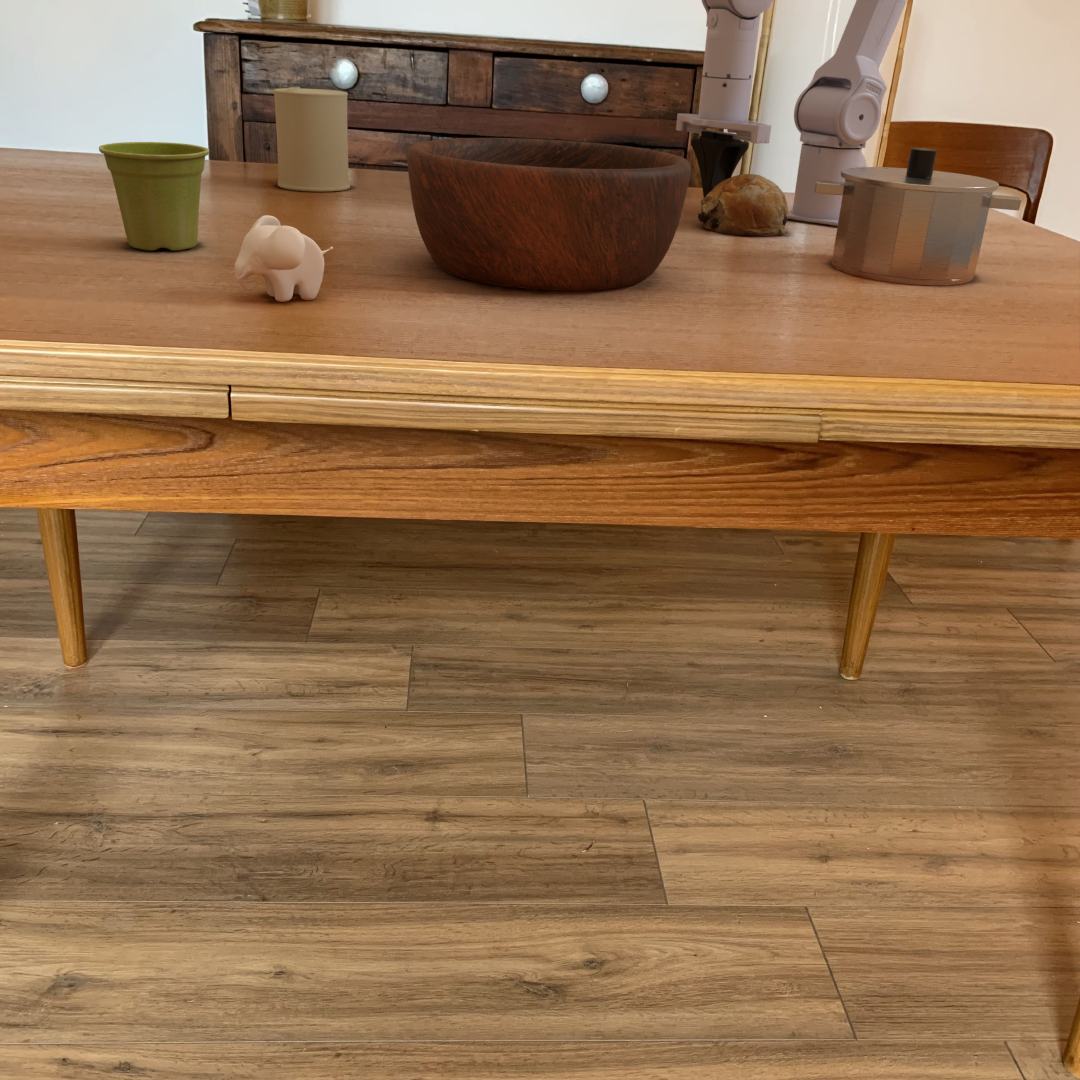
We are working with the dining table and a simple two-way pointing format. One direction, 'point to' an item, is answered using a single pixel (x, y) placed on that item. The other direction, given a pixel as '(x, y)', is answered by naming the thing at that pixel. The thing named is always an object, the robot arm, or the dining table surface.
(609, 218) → the wooden bowl
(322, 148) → the can
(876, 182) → the pot lid
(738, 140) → the robot arm
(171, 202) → the plant pot
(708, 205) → the bread roll
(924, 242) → the pot
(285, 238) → the elephant figurine
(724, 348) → the dining table surface
